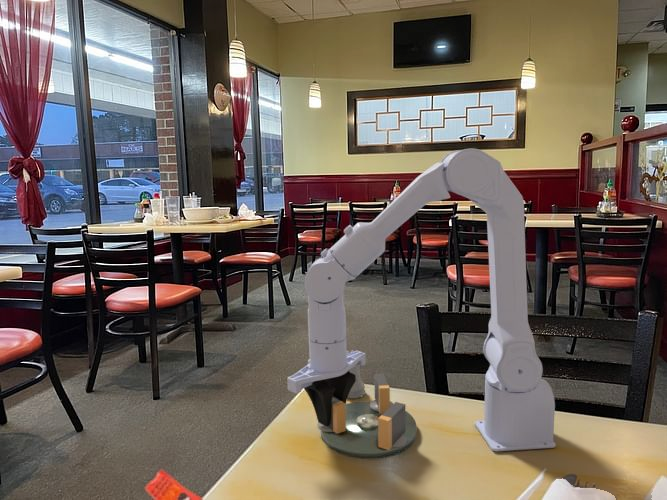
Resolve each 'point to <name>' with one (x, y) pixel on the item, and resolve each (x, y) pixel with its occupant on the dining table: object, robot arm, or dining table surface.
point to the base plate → (365, 433)
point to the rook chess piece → (356, 383)
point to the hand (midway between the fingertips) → (330, 420)
